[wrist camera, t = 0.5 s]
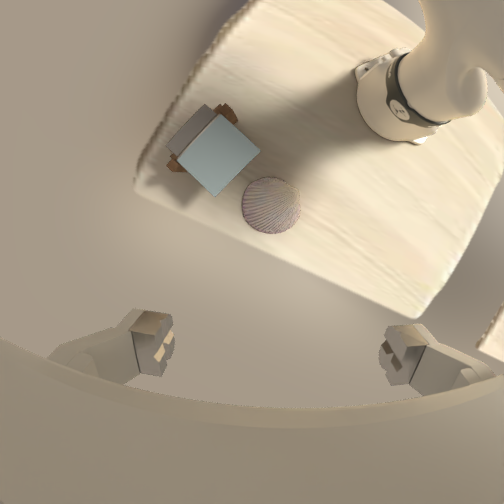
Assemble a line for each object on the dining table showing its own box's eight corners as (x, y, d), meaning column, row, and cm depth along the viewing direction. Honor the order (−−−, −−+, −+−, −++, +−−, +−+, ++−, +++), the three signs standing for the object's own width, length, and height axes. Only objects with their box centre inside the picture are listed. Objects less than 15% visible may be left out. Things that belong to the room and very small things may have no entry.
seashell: (317, 216, 44) (267, 249, 44) (306, 214, 50) (261, 244, 49) (285, 162, 42) (232, 195, 42) (277, 166, 47) (230, 196, 47)
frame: (221, 105, 42) (211, 92, 34) (238, 120, 43) (232, 109, 35) (172, 156, 45) (153, 154, 37) (188, 172, 46) (172, 171, 38)
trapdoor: (212, 108, 40) (205, 101, 35) (261, 153, 41) (260, 150, 37) (173, 149, 42) (162, 147, 37) (220, 194, 43) (214, 197, 39)
